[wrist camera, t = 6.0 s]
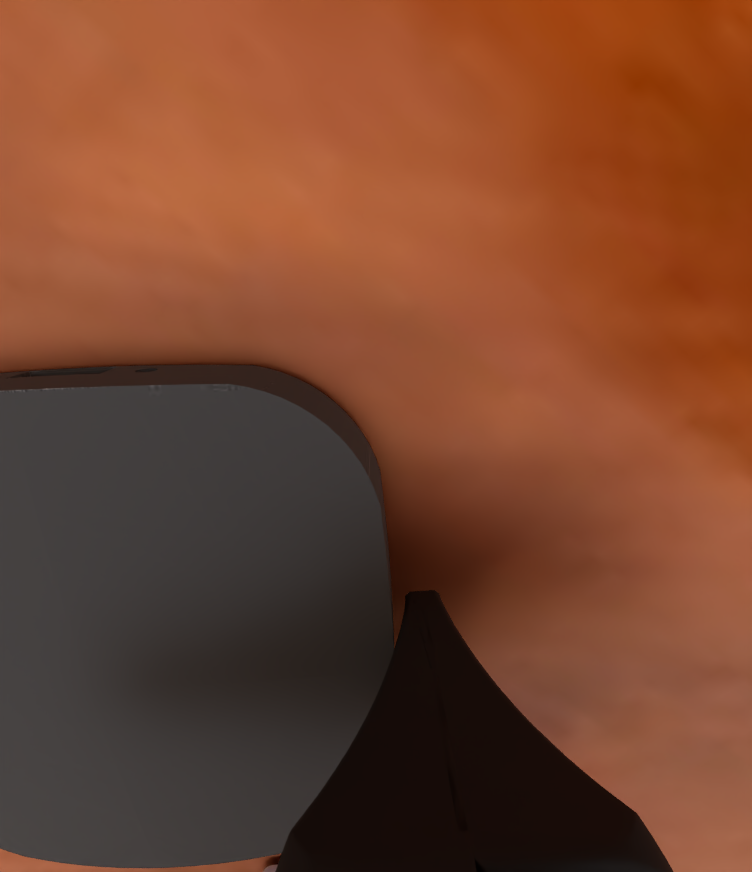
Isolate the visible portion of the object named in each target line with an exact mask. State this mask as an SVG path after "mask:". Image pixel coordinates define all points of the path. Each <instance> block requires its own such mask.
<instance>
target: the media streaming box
mask: <svg viewBox="0 0 752 872" xmlns="http://www.w3.org/2000/svg"><path fill="white" fill-rule="evenodd" d="M393 653H394V629H393V606H392V588H391V573H390V560H389V548H388V536H387V526H386V516H385V507H384V498H383V490H382V482H381V474H380V469H379V466H378V463H377V460H376V457H375V455H374V453H373V451H372V449H371V447H370V445H369V443H368V441H367V440H366V438H365V436H364V435H363V433H362V432H361V430H360V429H359V428H358V426H357V425H356V423H355V422H354V421H353V420H352V419H351V418H350V417H349V416H348V414H347V413H346V412H345V411H344V410H343V409H342V408H340V407H339V406H338V405H337V404H336V403H335V402H334V401H333V400H331V399H330V398H329V397H327V396H326V395H325V394H324V393H322V392H320V391H319V390H317V389H316V388H314V387H313V386H311V385H309V384H307V383H305V382H303V381H301V380H299V379H297V378H295V377H292V376H290V375H288V374H285V373H282V372H279V371H276V370H272V369H269V368H264V367H259V366H254V365H144V366H110V367H87V368H67V369H49V370H34V371H20V372H7V373H0V848H1V849H3V850H6V851H9V852H12V853H15V854H19V855H22V856H25V857H31V858H36V859H41V860H47V861H53V862H60V863H67V864H76V865H85V866H98V867H115V868H169V867H186V866H199V865H209V864H219V863H227V862H234V861H241V860H248V859H254V858H259V857H265V856H270V855H276V854H280V853H282V851H283V849H284V846H285V843H286V841H287V838H288V836H289V833H290V831H291V829H292V828H293V827H294V825H295V824H296V823H297V822H298V820H299V819H300V818H301V816H302V815H303V814H304V812H305V811H306V810H307V808H308V807H309V806H310V805H311V803H312V802H313V801H314V799H315V798H316V797H317V795H318V794H319V793H320V791H321V790H322V789H323V787H324V786H325V784H326V783H327V781H328V780H329V778H330V777H331V775H332V774H333V772H334V771H335V769H336V767H337V766H338V764H339V763H340V761H341V760H342V758H343V757H344V755H345V754H346V752H347V750H348V749H349V747H350V746H351V744H352V742H353V740H354V739H355V737H356V735H357V733H358V731H359V729H360V728H361V726H362V724H363V722H364V720H365V718H366V717H367V715H368V713H369V711H370V709H371V706H372V704H373V702H374V700H375V698H376V696H377V694H378V691H379V689H380V687H381V684H382V682H383V680H384V677H385V674H386V672H387V669H388V666H389V664H390V661H391V658H392V656H393Z"/></svg>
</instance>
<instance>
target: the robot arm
mask: <svg viewBox="0 0 752 872" xmlns="http://www.w3.org/2000/svg"><path fill="white" fill-rule="evenodd" d="M263 872H673V870H672V868H671V867H670V865H669V863H668V861H667V860H666V858H665V856H664V855H663V853H662V851H661V850H660V848H659V847H658V845H657V843H656V842H655V840H654V838H653V837H652V835H651V834H650V832H649V831H648V829H647V828H646V826H645V825H644V823H643V822H642V820H641V819H640V817H639V816H638V814H637V813H636V812H634V811H633V810H632V809H630V808H629V807H628V806H626V805H625V804H624V803H623V802H621V801H620V800H619V799H617V798H616V797H615V796H613V795H612V794H611V793H609V792H608V791H607V790H605V789H604V788H603V787H602V786H600V785H599V784H598V783H597V782H595V781H594V780H593V779H592V778H590V777H589V776H588V775H587V774H586V773H585V772H583V771H582V770H581V769H580V768H579V767H578V766H576V765H575V764H574V763H573V762H572V761H571V760H569V759H568V758H567V757H566V756H565V755H564V754H563V753H562V752H561V751H560V750H559V749H558V748H557V747H555V746H554V745H553V744H552V743H551V742H550V741H549V740H548V739H547V738H546V737H545V736H544V735H543V734H542V733H541V732H540V731H539V730H538V729H536V728H535V727H534V726H533V725H532V724H531V723H530V722H529V720H528V719H527V718H526V717H525V716H524V715H523V714H522V713H521V712H520V711H519V710H518V709H517V708H516V707H515V706H514V704H513V703H512V702H511V701H510V700H509V699H508V698H507V696H506V695H505V694H504V693H503V692H502V691H501V689H500V688H499V687H498V686H497V685H496V683H495V682H494V681H493V680H492V678H491V677H490V676H489V675H488V673H487V672H486V671H485V669H484V668H483V667H482V665H481V664H480V663H479V661H478V660H477V658H476V657H475V656H474V654H473V653H472V651H471V650H470V648H469V647H468V645H467V644H466V642H465V641H464V639H463V638H462V636H461V635H460V633H459V632H458V630H457V628H456V627H455V625H454V623H453V621H452V620H451V618H450V616H449V614H448V612H447V611H446V609H445V607H444V604H443V602H442V600H441V598H440V595H439V593H438V592H436V591H435V590H429V591H415V592H409V593H408V594H407V595H406V596H405V609H404V615H403V620H402V625H401V629H400V633H399V636H398V639H397V643H396V646H395V650H394V653H393V656H392V658H391V661H390V664H389V666H388V669H387V672H386V674H385V677H384V680H383V682H382V684H381V687H380V689H379V691H378V694H377V696H376V698H375V700H374V702H373V704H372V706H371V709H370V711H369V713H368V715H367V717H366V718H365V720H364V722H363V724H362V726H361V728H360V729H359V731H358V733H357V735H356V737H355V739H354V740H353V742H352V744H351V746H350V747H349V749H348V750H347V752H346V754H345V755H344V757H343V758H342V760H341V761H340V763H339V764H338V766H337V767H336V769H335V771H334V772H333V774H332V775H331V777H330V778H329V780H328V781H327V783H326V784H325V786H324V787H323V789H322V790H321V791H320V793H319V794H318V795H317V797H316V798H315V799H314V801H313V802H312V803H311V805H310V806H309V807H308V808H307V810H306V811H305V812H304V814H303V815H302V816H301V818H300V819H299V820H298V822H297V823H296V824H295V825H294V827H293V828H292V829H291V831H290V833H289V836H288V838H287V841H286V843H285V846H284V849H283V851H282V854H281V857H280V860H279V863H278V864H277V865H269V866H268V867H266V868H265V869H264V870H263Z"/></svg>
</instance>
